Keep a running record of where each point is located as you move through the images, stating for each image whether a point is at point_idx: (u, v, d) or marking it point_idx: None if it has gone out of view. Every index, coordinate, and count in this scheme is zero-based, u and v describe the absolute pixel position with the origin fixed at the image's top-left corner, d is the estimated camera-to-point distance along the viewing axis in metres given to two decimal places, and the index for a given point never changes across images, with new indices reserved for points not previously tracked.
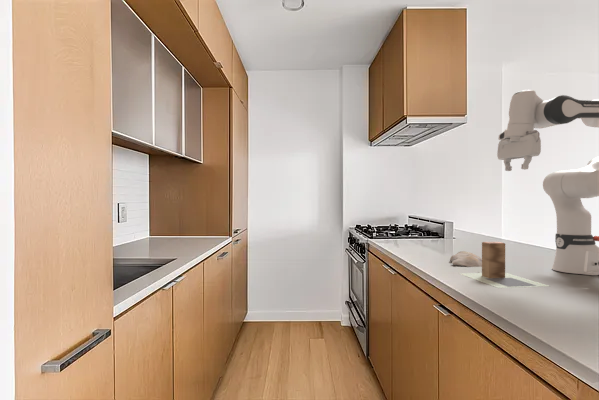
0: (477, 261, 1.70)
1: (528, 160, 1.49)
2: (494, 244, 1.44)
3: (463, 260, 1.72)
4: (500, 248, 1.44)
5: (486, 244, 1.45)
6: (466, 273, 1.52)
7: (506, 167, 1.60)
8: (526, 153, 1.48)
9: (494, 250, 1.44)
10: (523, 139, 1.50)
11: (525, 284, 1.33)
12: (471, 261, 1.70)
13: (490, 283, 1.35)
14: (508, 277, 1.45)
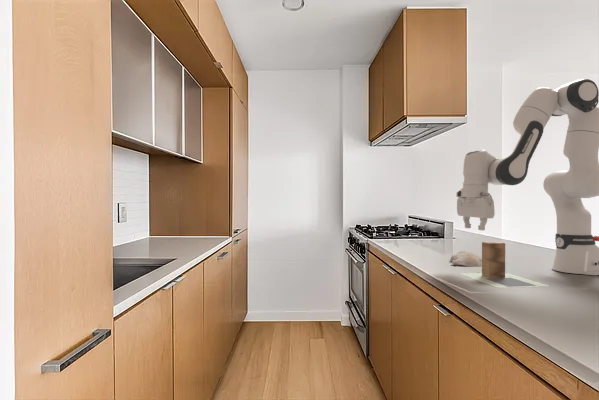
0: (477, 261, 1.70)
1: (484, 222, 1.51)
2: (494, 244, 1.44)
3: (463, 260, 1.72)
4: (500, 248, 1.44)
5: (486, 244, 1.45)
6: (466, 273, 1.52)
7: (465, 225, 1.62)
8: (481, 216, 1.50)
9: (494, 250, 1.44)
10: (477, 201, 1.52)
11: (525, 284, 1.33)
12: (471, 261, 1.70)
13: (490, 283, 1.35)
14: (508, 277, 1.45)
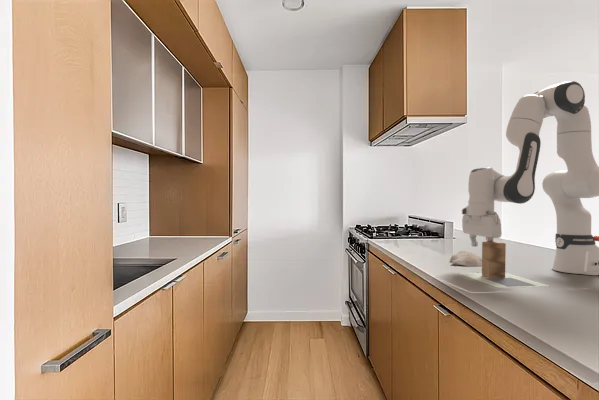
0: (477, 261, 1.71)
1: (490, 241, 1.48)
2: (494, 244, 1.44)
3: (463, 260, 1.73)
4: (500, 248, 1.44)
5: (486, 244, 1.45)
6: (466, 273, 1.52)
7: (472, 243, 1.58)
8: (487, 235, 1.46)
9: (494, 250, 1.44)
10: (484, 220, 1.49)
11: (525, 284, 1.33)
12: (471, 260, 1.71)
13: (490, 283, 1.35)
14: (508, 277, 1.45)
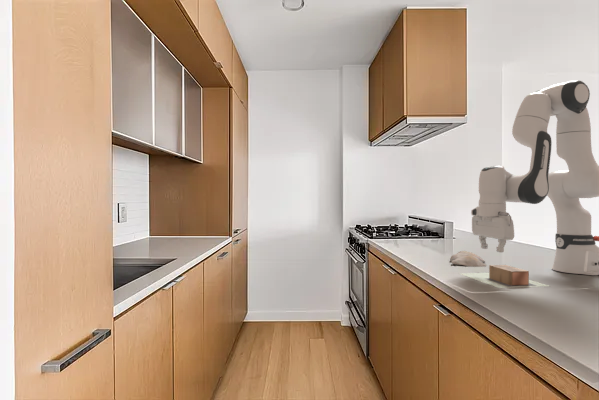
0: (476, 261, 1.71)
1: (502, 243, 1.41)
2: None
3: (462, 260, 1.73)
4: None
5: (510, 280, 1.32)
6: (466, 273, 1.52)
7: (482, 245, 1.52)
8: (499, 237, 1.40)
9: None
10: (495, 221, 1.42)
11: None
12: (471, 260, 1.71)
13: (490, 283, 1.35)
14: None
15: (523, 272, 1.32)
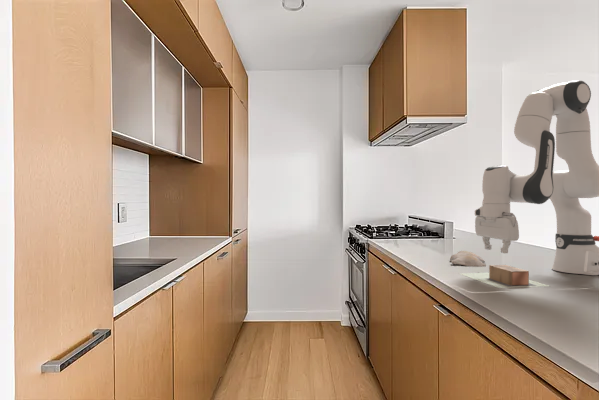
0: (476, 260, 1.71)
1: (507, 244, 1.39)
2: None
3: (462, 259, 1.73)
4: None
5: (510, 280, 1.32)
6: (466, 273, 1.52)
7: (485, 246, 1.49)
8: (504, 238, 1.37)
9: None
10: (499, 221, 1.40)
11: None
12: (470, 260, 1.72)
13: (490, 283, 1.35)
14: None
15: (523, 272, 1.32)
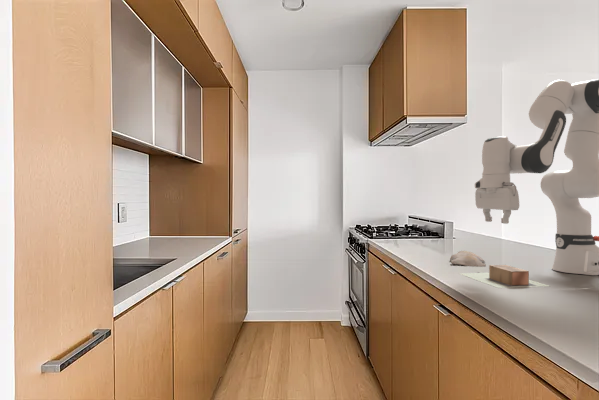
0: (476, 260, 1.72)
1: (507, 214, 1.38)
2: None
3: (462, 259, 1.74)
4: None
5: (510, 280, 1.32)
6: (466, 273, 1.52)
7: (486, 218, 1.49)
8: (504, 208, 1.37)
9: None
10: (500, 192, 1.39)
11: None
12: (470, 260, 1.72)
13: (490, 283, 1.35)
14: None
15: (523, 272, 1.32)
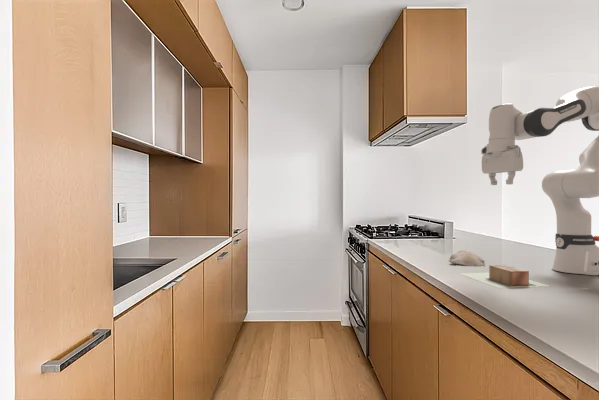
0: (475, 260, 1.72)
1: (512, 175, 1.48)
2: None
3: (461, 259, 1.74)
4: None
5: (510, 280, 1.32)
6: (466, 273, 1.52)
7: (491, 181, 1.59)
8: (509, 169, 1.47)
9: None
10: (505, 154, 1.49)
11: None
12: (470, 260, 1.73)
13: (490, 283, 1.35)
14: None
15: (523, 272, 1.32)
